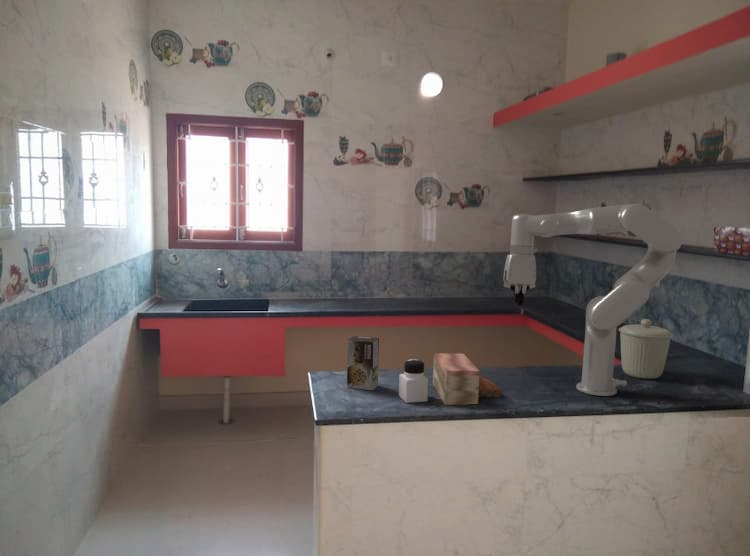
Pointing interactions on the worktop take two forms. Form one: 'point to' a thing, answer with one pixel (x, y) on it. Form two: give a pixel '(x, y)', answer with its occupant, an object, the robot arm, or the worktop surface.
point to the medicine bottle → (413, 382)
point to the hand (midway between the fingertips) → (518, 304)
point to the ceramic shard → (488, 389)
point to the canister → (644, 349)
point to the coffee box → (362, 362)
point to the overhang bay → (455, 379)
